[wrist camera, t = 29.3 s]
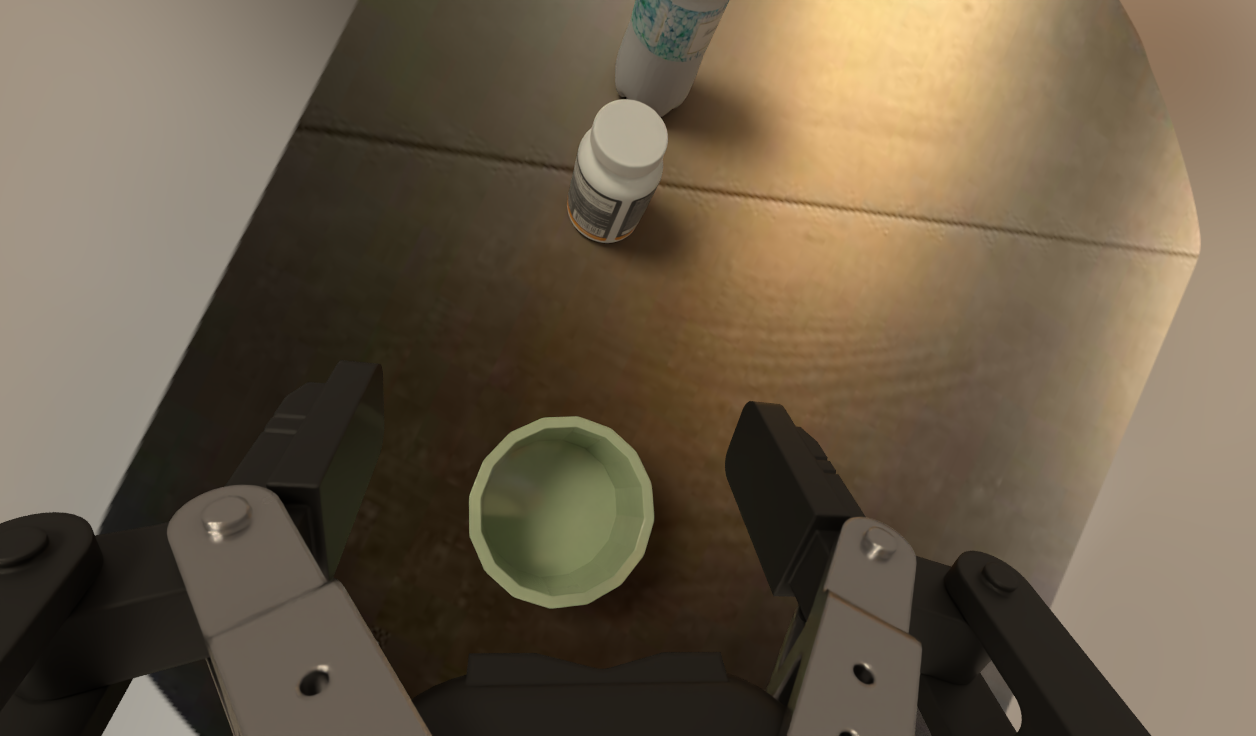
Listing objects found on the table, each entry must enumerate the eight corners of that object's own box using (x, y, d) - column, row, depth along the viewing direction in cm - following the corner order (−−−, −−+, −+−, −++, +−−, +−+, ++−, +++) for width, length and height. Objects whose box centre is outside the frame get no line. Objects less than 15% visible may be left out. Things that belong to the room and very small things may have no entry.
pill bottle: (625, 173, 44) (660, 85, 35) (647, 238, 43) (689, 166, 34) (556, 184, 42) (573, 95, 33) (577, 253, 42) (601, 181, 32)
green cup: (450, 557, 35) (437, 573, 27) (507, 412, 38) (511, 391, 30) (595, 603, 36) (621, 631, 29) (640, 460, 39) (675, 451, 32)
